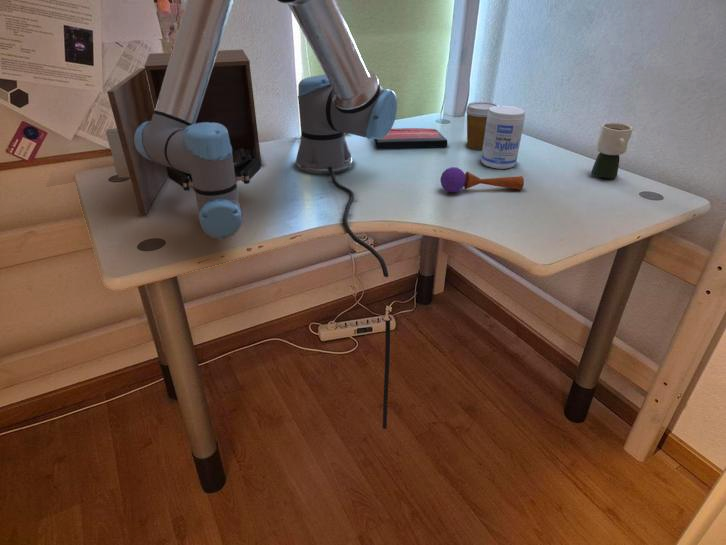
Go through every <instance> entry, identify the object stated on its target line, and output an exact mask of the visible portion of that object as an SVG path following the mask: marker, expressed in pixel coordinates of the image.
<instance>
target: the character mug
mask: <svg viewBox="0 0 726 545" xmlns="http://www.w3.org/2000/svg"><path fill="white" fill-rule="evenodd" d="M632 133H633V127H632V126H631V125H630V124H629V125H628V124H625V123H621V122H605V123H602V124H601V126H600V130H599V134H598V137H597V142H596V145H595V150H596V151H597V152H598V154H597V157H596V158H595V161H594V163H593V165H592V169H591V172H590V173H591V175H593V176H595V177H599V178H604V179H607V178H608V179H616V178H617V177H618V174H619V166H620V160H621V159H620V158H621V157H620V155H623V154H625V153H626V152H627V151H628V144H629V141H630V139H631V138H632Z"/></svg>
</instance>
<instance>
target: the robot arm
mask: <svg viewBox="0 0 726 545" xmlns="http://www.w3.org/2000/svg"><path fill="white" fill-rule="evenodd" d="M234 1H235V0H186V4H185V6H184V11H183V13H182V16H181V20H180V23H179V27H178V29H177V34H176V36H175V39H174V40H175V41H174V44H173V46H172V49H171V52H170V53H171V56H170V60H169V63H168V66H167V70H166V73H165V76H164V80H163V83H162V87H161V90H160V93H159V97H158V100H157V103H156V107H155V110H154V114H153V116H152V120H151V121H147V122H144V123H142V124H141V125H140V126H139V127H138V128H137V130H136V132H135V135H134V143H135V146H136V149H137V151H138V152H139V153H140V154H141V155H142V156H143V157H144V158H146V159H148V160H151V161H153V162H154V163H156V164H159V165H165V166H168V167H167V172H168V176H167V177H168V179H169V180H171V181H172V182H174V183H176V184H177V185H179V186H181V187H182V188H183V191H186V192H187V191H190V190H191V188H192V187H193V190H194V194H195V199H196V205H197V209H198V213H197V217H198V218H197V219H198V221H199V225H200V227H201V229H202V231H203V232H204V233H205V234H206V235H207V236H209V237H211V238H214V239H227V238H230V237H232V236H234V235H235V234H236V233H237V232H238V231H240V229H241V227H242V222H243V213H242V212H243V211H242V209H241V204H240V196H239V190H238V185H237V182H243V184H245V185H248V184H250V183H251V182H250V181H251V180H252V178H254V176H255V175H256V174H257V173H259V171H260V170H261V169H262V168H261V167H262V166H260V158H255V157H254V158H253V159H252V157H251V155H250V154H246V152H245V148H240V149H239V150H240V157H241V160H240V161H238V162H236V163H234V156H233V149H232V147H231V144H230V140H229V135H228V131H227V129H226V127H225V126H223V125H222V124H219V123H209V122H204V123H196V121H197V118H198V114H199V111H200V108H201V105H202V102H203V98H204V95H205V92H206V89H207V85H208V82H209V79H210V76H211V73H212V69H213V66H214V63H215V60H216V56H217V53H218V51H220V46H221V44H222V41H223V36H224V34H225V30H226V27H227V24H228V21H229V18H230V14H231V11H232V8H233V5H234ZM277 2H279V3H282V4H287V5H288V7H289V9H290V11H291V13H292V15H293V17H294V19H295V21H296V22H297V24H298V26H299V28H300V31H302V33H303V35H304V37H305V39H306V41H307V43H308V45H309V47H310V48H311V51H312V52H313V54H314V56H315V58H316V60H317V62H318V63H319V65H320V67H321V69H322V71H323V73H324V74H320V75H319V74H318V75H314V76H313V75H312V76H308V77H305V78H302V79H301V80H300V81H299V82H298V86H297V88H298V90H297V91H298V95H297V100H298V102H297V103H298V112H299V124H300V142H299V146H298V150H297V154H296V158H295V162H296V164H295V165H296V168H297V169H298V170H299V171H301V172H304V173H306V174H312V175H320V176H321V175H330V177H331V181H332V183H333V184H334V186H335V187H336V188H338V189H339V190H342V191H344V192H345V193H348V194H349V199H348V201H347V203H346V206H345V209H344V212H343V217H342V220H343V221H342V222H343V227H344V229H345V231H346V232H347V234H348V235H349V237H350V238H351V239H352V240H353V241H354V242H356V243H357V244H358V245H360V247H363V248H364V249H366V250H368V251H369V252H370V253H371V254H372V255H373V256H374V257H375V258H376V259H377V260H378V262H379V264H380V267H381V270H382V274H383V277H384V278H388V277H389V271H388V268H387V264H386V262H385V260H384V258H383V256H382V255H380V253H378V251H377V250H375V248H373V247H372V246H371V245H370V244H368V243H366V242H365V241H363V240H362V239H360V238H359V237H358V236H356V235H355V233H354V232H353V231H352V229H351V227H350V226H349V223H348V222H349V221H348V215H349V212H350V209H351V205H352V203H353V202H354V199H355V194H354V191H352V190H351V189H350V188H348V187H347V186H344V185H341V184H340V183H338V181H337V179H336V175H335V174H339V173H343V172H345V171H347V170H349V169H350V168H352V166H353V156H352V153H351V150H350V147H349V144H348V141H347V138H346V135H345V133H349V134H348V135H353V136H354V135H355V136H357V137H361V138H366V139H367V140H369V139H373V140H375V139H381V138H383V137H385V136H386V135H387V134H388V133H389V131H390V130H391V129H393V126H394V124H395V122H396V118H397V114H398V104H399V102H398V98H397V94H396V93H395V91H393V90H391V89H389V88H383V87H382V85H381V84H380V81H379V78H378V77H377V75H376V74H375V73H374V72H373V71H371V70H367V67H366V65H365V63H364V61H363V58H362V57H361V54H360V52H359V49H358V47H357V45H356V43H355V40H354V38H353V36H352V34H351V31H350V29H349V27H348V24H347V22H346V20H345V17H344V15H343V13H342V10H341V9H340V6H339V4H338V2H337V0H277ZM384 344H385V345H384V347H385V349H384V375H383V376H384V378H383V379H384V380H383V404H382V429H383V430H386V429H388V426H387V425H388V402H389V401H388V399H389V383H390V382H389V380H390V358H391V357H390V356H391V319H388V320H385V343H384Z"/></svg>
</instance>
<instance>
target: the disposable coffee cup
mask: <svg viewBox="0 0 726 545" xmlns="http://www.w3.org/2000/svg"><path fill="white" fill-rule="evenodd" d="M493 106H498V104H497V103H492V102H486V101H473V102H470V103H468V104H467V105H466V108H465V112H466V146H467V148H470V149H473V150H482V149H483V143H484V136H485V129H486V122H487V116H488V113H489V108H490V107H493Z"/></svg>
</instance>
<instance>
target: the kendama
mask: <svg viewBox="0 0 726 545" xmlns="http://www.w3.org/2000/svg"><path fill="white" fill-rule="evenodd" d="M441 173H442V174H441V176H440V181H439V182H440V185H441V187H442V188H443V189H444V191H446V192H449V193H457V192H460V191H461V190H462V189H463V188H464V189H465V190H469V189H471V188H473V187H476V186H478V185H481V184H482V185H488V186H493V187H499V188H505V189H511V190H518V191H521V190H523V188H524V185H525V179H524V176H521V175H519V176H503V177H493V178H492V177H490V178H488V177H487V178H480V177H478V176H476V175H475V174H472V173H471V172H469V171H466V172H464V170H462V169H461V168H459V167H455V166H452V167H448V168H446V169H445V170H444V171H443V172H441Z"/></svg>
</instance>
